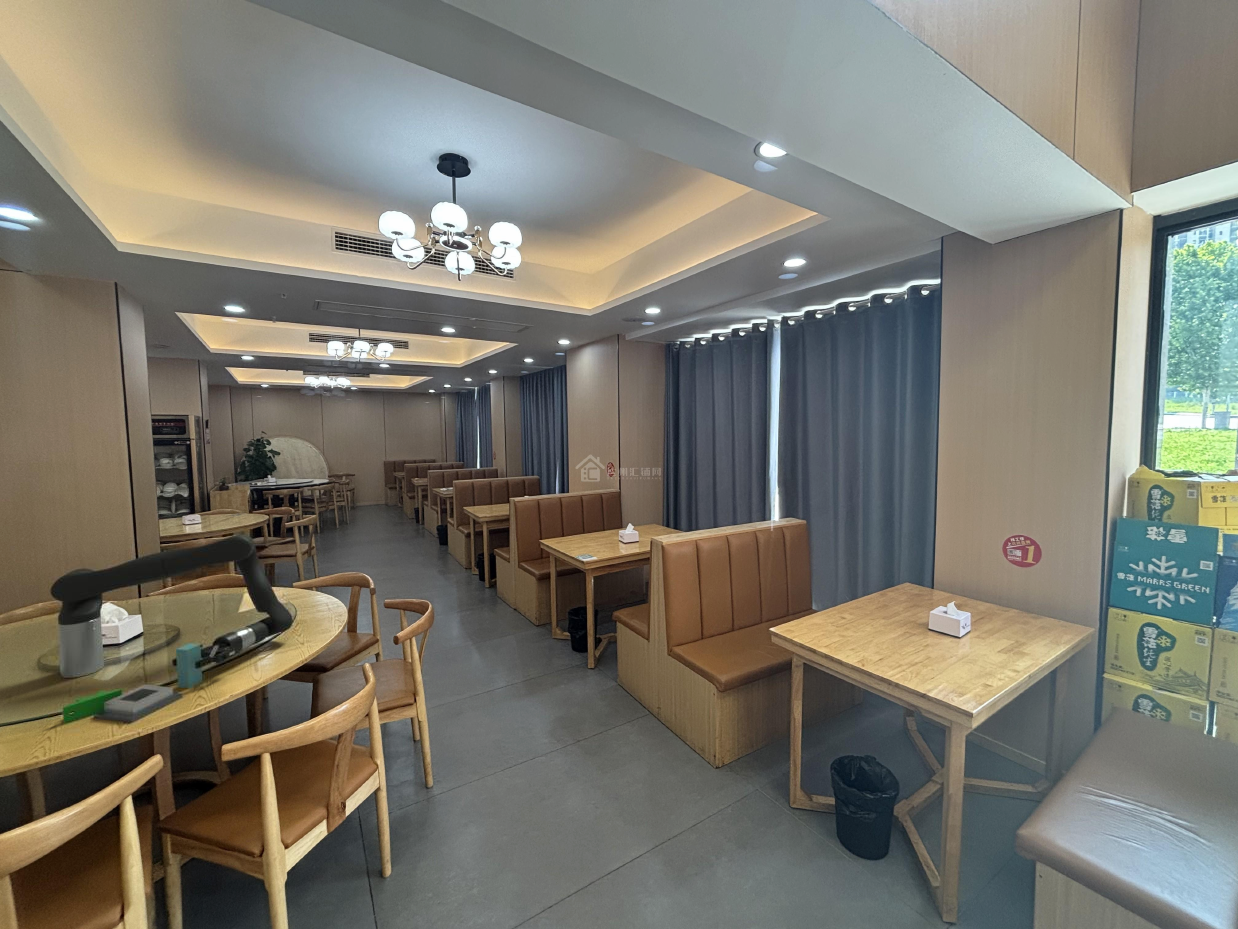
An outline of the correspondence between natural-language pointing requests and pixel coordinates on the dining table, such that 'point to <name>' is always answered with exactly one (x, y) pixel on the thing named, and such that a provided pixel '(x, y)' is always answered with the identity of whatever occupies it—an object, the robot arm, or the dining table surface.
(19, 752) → the dining table surface
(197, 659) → the teal square peg
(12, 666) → the dining table surface
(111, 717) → the square socket plate
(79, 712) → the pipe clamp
